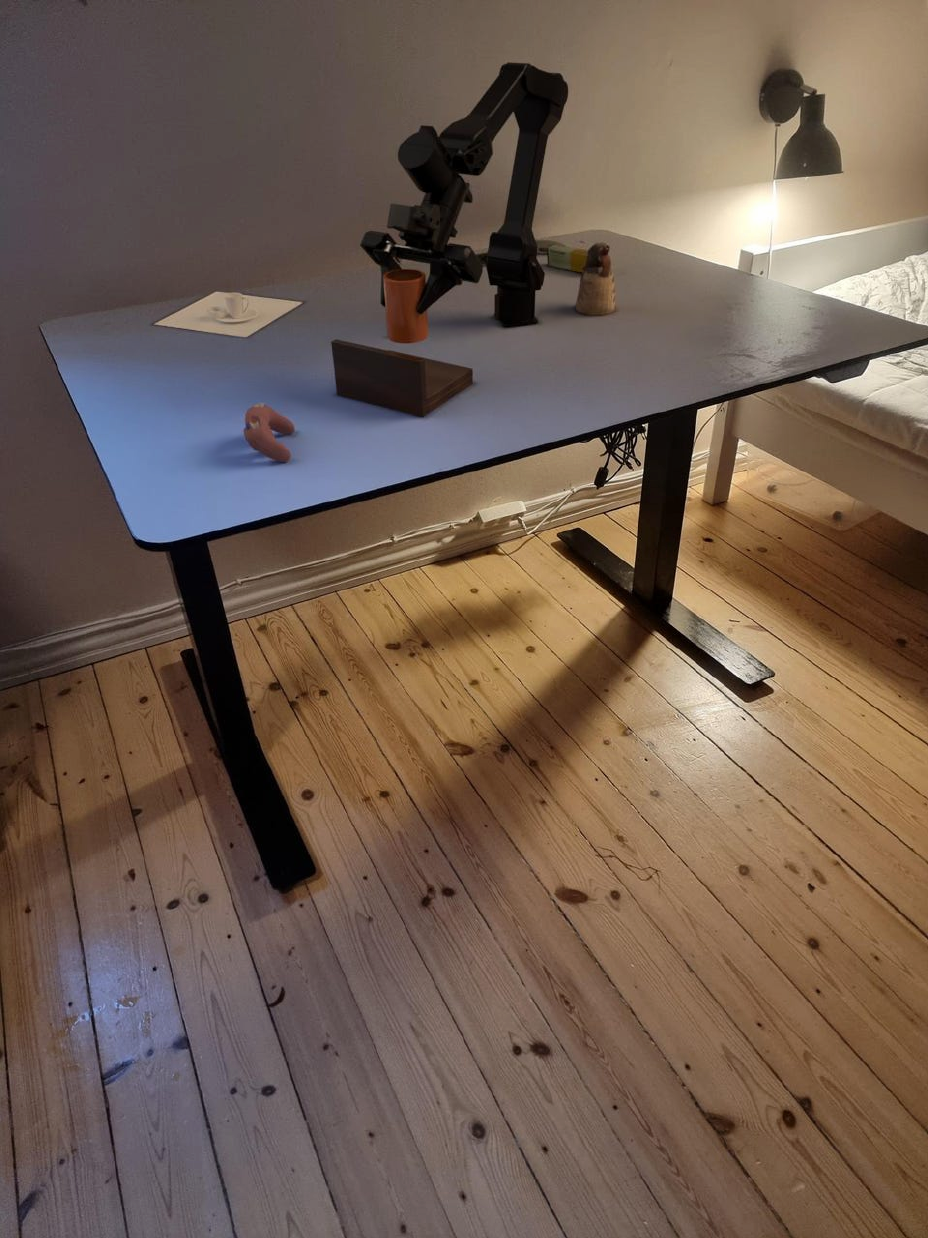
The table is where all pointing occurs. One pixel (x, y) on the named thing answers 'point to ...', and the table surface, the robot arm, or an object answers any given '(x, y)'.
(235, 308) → the teacup and saucer
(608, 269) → the figurine
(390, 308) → the cup
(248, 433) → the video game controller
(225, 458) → the table surface
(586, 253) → the medication box
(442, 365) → the dark brown wooden piece
